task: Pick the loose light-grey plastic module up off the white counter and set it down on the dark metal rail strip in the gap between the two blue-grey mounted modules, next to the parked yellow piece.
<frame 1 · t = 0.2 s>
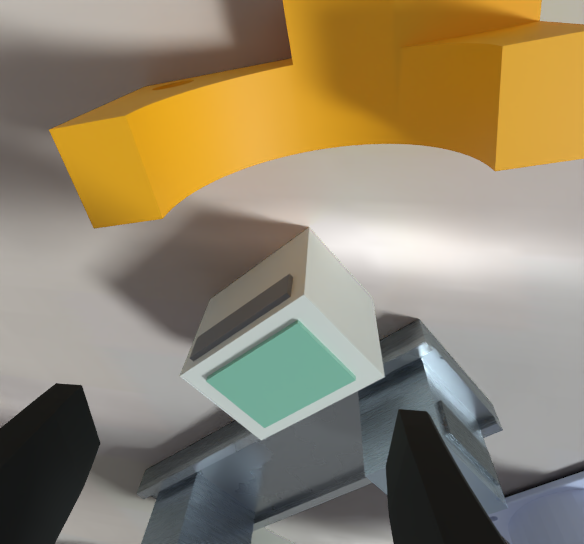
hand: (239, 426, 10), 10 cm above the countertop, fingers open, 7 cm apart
yellow piece: (313, 66, 15), on the countertop
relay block: (257, 541, 32), on the countertop
rail: (301, 440, 25), on the countertop
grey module: (289, 297, 20), on the countertop
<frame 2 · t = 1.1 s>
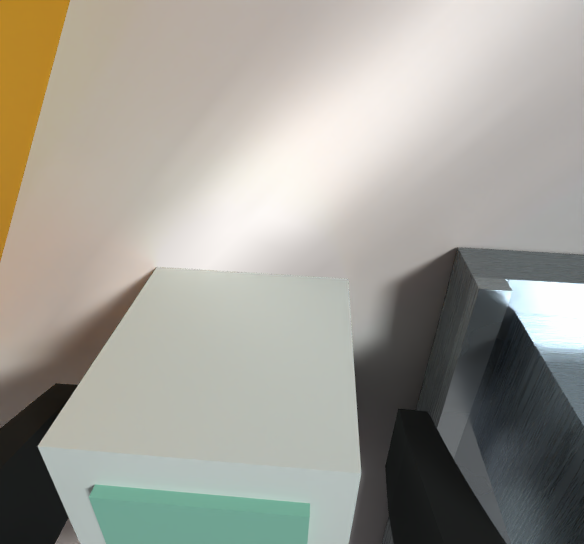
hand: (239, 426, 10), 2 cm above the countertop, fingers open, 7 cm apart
rail: (496, 519, 14), on the countertop
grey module: (254, 365, 12), on the countertop
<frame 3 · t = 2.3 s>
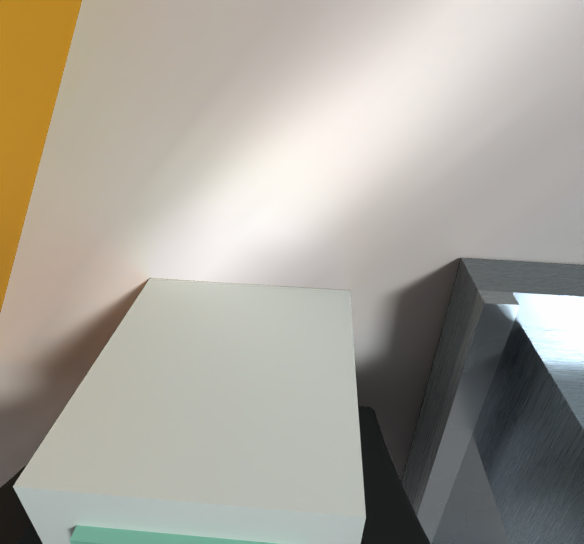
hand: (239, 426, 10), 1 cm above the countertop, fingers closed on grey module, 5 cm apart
rail: (499, 533, 14), on the countertop
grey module: (251, 380, 11), on the countertop, touching gripper
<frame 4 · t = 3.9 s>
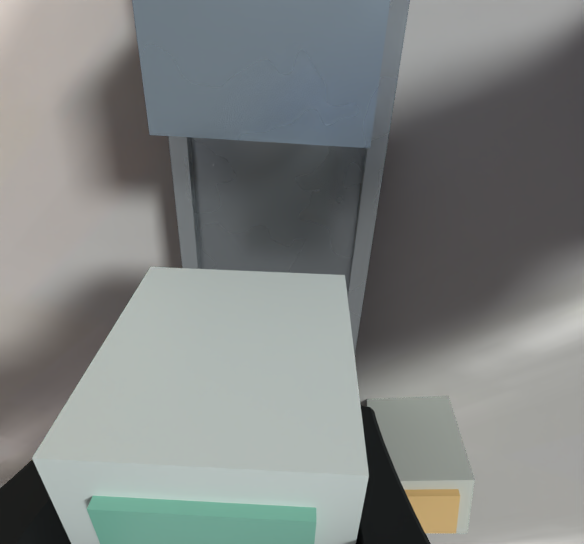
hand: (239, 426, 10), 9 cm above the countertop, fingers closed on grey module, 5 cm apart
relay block: (406, 423, 23), on the countertop
rail: (277, 246, 18), on the countertop
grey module: (250, 366, 12), point 7 cm above the countertop, touching gripper
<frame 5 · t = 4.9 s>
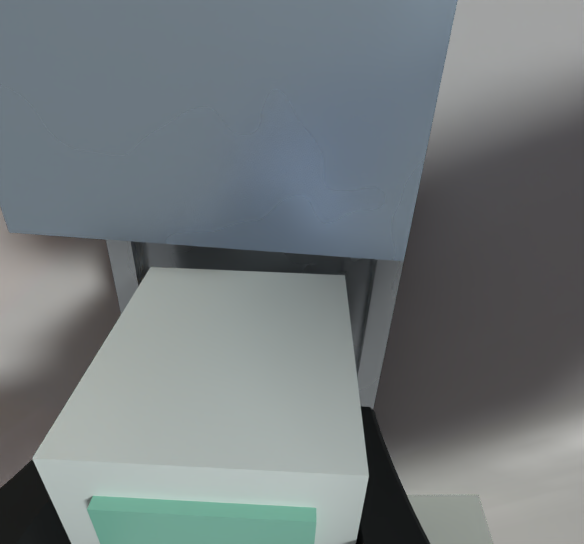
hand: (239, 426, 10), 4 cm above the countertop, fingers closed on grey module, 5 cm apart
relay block: (424, 521, 18), on the countertop
rail: (261, 324, 13), on the countertop
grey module: (250, 366, 12), point 2 cm above the countertop, touching gripper
when the fingers open (4 cm above the countertop, at t = 5.7 s): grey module stays where it is, resting on rail.
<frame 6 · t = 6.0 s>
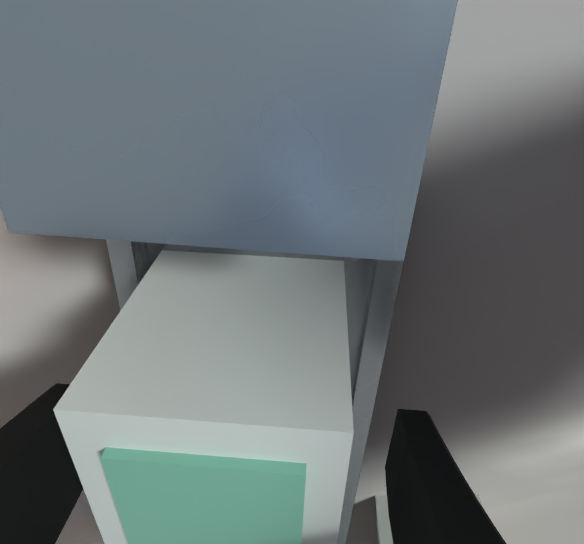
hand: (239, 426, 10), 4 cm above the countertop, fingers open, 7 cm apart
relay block: (424, 521, 18), on the countertop
rail: (261, 324, 13), on the countertop
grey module: (254, 348, 12), point 1 cm above the countertop, touching rail
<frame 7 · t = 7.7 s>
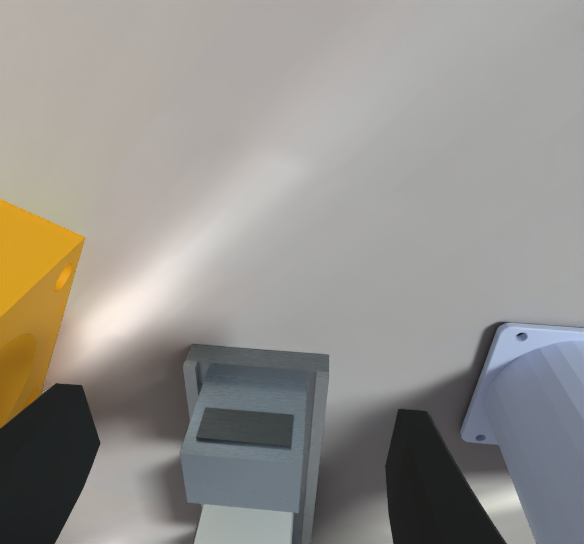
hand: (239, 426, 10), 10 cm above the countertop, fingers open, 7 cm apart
yellow piece: (21, 306, 22), on the countertop
rail: (260, 470, 27), on the countertop
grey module: (257, 487, 26), point 1 cm above the countertop, touching rail
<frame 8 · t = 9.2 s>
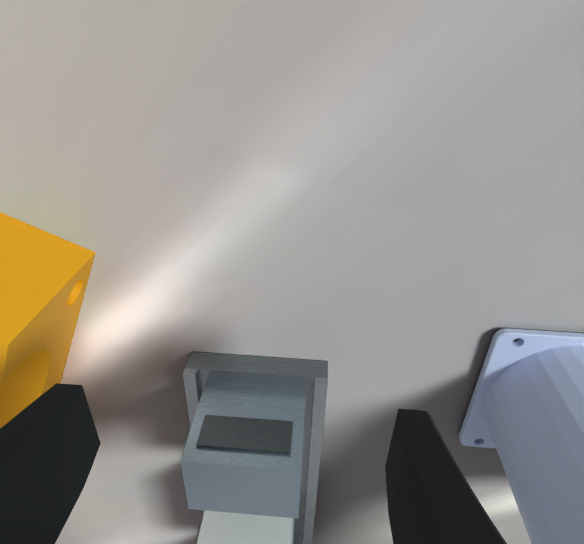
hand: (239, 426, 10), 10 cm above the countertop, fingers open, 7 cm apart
yellow piece: (34, 321, 23), on the countertop
rail: (261, 474, 27), on the countertop
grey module: (258, 492, 26), point 1 cm above the countertop, touching rail
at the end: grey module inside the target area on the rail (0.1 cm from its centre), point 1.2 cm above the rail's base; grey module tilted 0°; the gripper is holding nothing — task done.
